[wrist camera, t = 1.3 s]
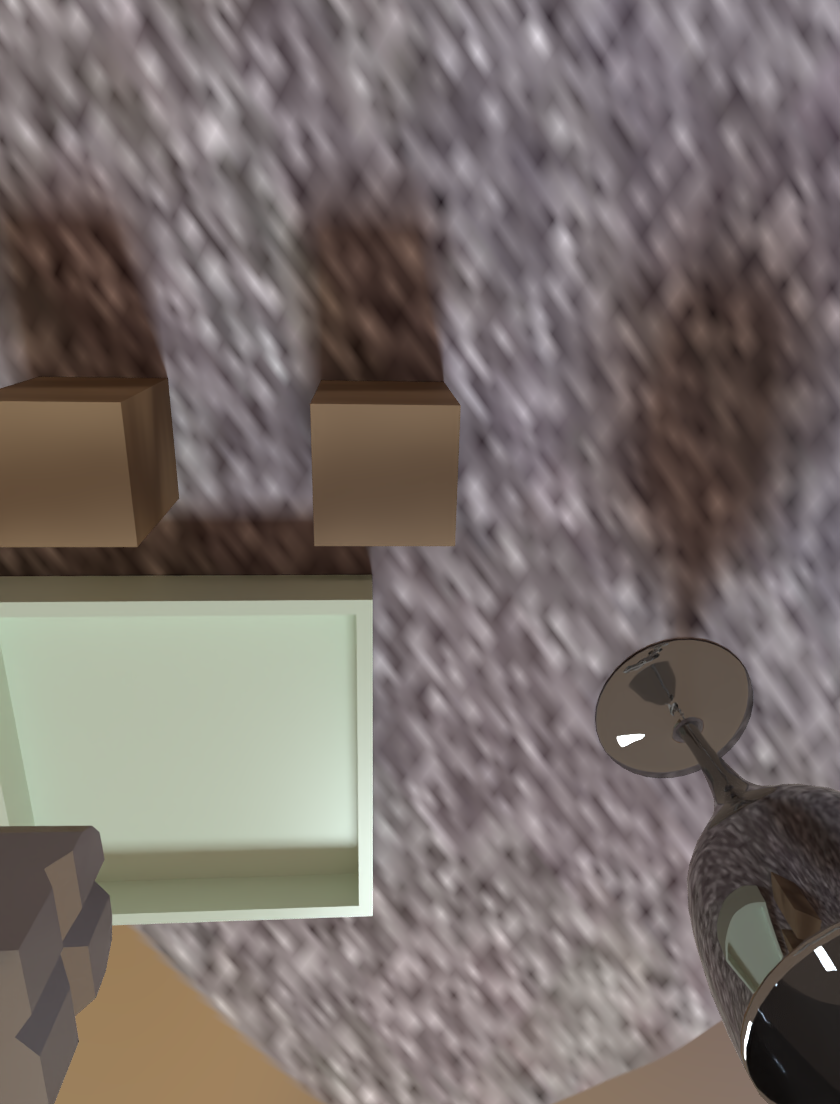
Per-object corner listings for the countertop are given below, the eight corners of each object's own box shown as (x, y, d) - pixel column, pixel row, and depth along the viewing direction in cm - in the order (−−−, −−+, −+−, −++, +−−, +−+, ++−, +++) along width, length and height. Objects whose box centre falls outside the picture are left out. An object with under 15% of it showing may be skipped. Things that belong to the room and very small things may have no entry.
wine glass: (549, 714, 33) (683, 1039, 19) (691, 594, 31) (952, 852, 17) (658, 814, 35) (850, 1170, 21) (796, 707, 34) (1101, 1016, 20)
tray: (-20, 576, 29) (-54, 602, 27) (371, 574, 30) (372, 599, 28) (39, 884, 34) (15, 928, 32) (372, 873, 35) (372, 916, 33)
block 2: (321, 380, 28) (310, 403, 22) (443, 381, 28) (460, 405, 23) (324, 498, 29) (314, 546, 24) (439, 499, 29) (454, 546, 24)
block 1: (39, 376, 27) (-39, 400, 22) (168, 378, 27) (120, 402, 22) (57, 497, 28) (-12, 547, 23) (179, 498, 29) (137, 546, 24)
